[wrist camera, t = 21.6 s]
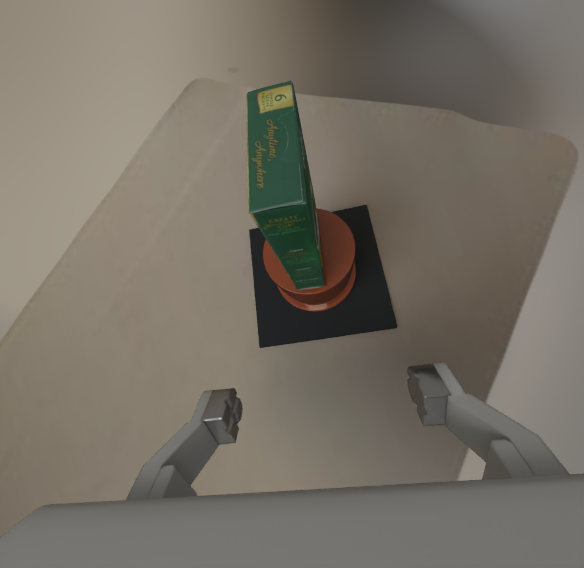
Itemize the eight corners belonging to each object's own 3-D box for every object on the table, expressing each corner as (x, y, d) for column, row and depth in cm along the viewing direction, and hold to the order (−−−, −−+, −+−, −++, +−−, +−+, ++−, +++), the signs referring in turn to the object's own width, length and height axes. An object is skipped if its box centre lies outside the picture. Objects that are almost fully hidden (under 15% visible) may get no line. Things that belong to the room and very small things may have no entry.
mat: (366, 206, 33) (366, 204, 33) (396, 327, 29) (397, 327, 28) (250, 231, 36) (249, 229, 35) (260, 347, 31) (259, 347, 30)
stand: (347, 230, 32) (348, 195, 25) (363, 304, 29) (370, 288, 22) (273, 245, 34) (255, 215, 27) (281, 318, 31) (263, 306, 24)
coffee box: (289, 215, 26) (241, 85, 14) (317, 210, 25) (294, 71, 13) (295, 291, 24) (244, 218, 11) (326, 287, 23) (308, 207, 11)
